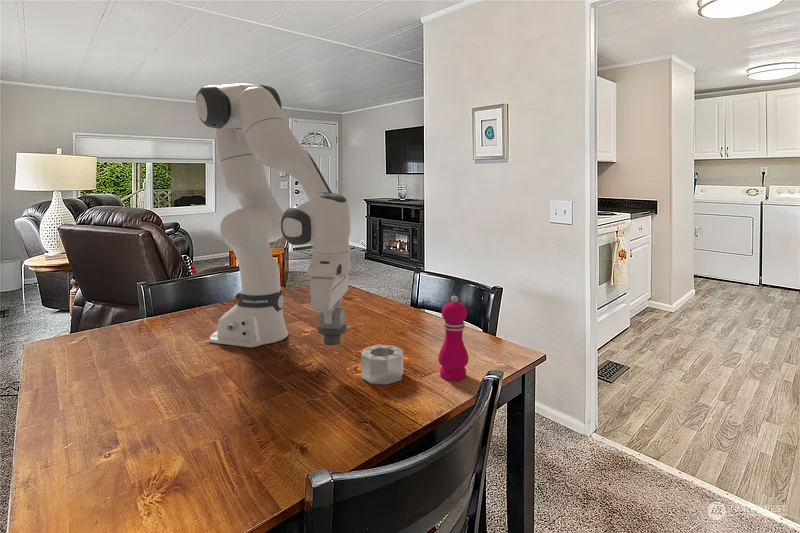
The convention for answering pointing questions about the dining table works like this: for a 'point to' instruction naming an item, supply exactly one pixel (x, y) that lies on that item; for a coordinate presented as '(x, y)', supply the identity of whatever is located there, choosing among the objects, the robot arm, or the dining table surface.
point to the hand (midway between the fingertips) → (332, 318)
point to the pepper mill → (453, 342)
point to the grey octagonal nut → (382, 364)
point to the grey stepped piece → (333, 327)
